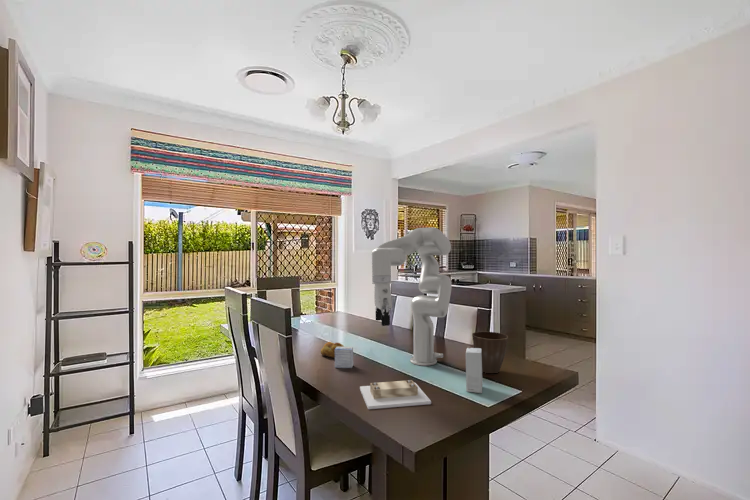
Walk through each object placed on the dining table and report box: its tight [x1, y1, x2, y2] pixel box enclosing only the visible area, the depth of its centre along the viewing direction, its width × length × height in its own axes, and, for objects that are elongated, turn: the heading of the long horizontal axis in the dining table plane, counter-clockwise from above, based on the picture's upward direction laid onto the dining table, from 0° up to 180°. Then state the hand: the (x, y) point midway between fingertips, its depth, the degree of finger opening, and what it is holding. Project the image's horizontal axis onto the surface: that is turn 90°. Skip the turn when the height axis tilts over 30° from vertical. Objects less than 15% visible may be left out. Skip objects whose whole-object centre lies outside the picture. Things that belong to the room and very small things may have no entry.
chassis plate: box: [359, 379, 432, 410], centre depth 129 cm, size 22×18×4 cm
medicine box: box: [334, 346, 354, 369], centre depth 163 cm, size 8×4×9 cm, turn 84°
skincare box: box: [465, 347, 484, 394], centre depth 136 cm, size 8×6×15 cm
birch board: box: [369, 379, 418, 399], centre depth 129 cm, size 16×7×3 cm, turn 101°
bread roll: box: [320, 341, 345, 359], centre depth 180 cm, size 13×10×8 cm
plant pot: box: [471, 331, 509, 374], centre depth 156 cm, size 15×15×16 cm
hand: (382, 322), depth 141 cm, fingers open, 9 cm apart
